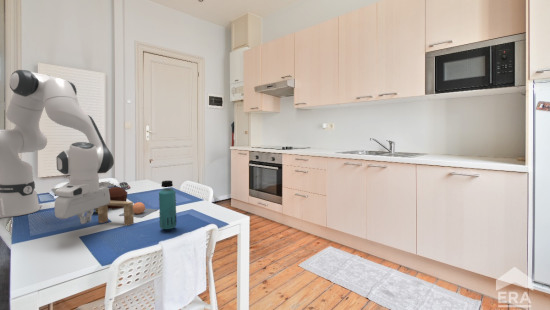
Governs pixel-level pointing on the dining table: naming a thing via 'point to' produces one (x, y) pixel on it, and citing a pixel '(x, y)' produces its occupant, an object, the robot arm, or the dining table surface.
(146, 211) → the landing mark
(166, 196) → the beverage bottle
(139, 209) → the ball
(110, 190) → the muffin
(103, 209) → the bridge
